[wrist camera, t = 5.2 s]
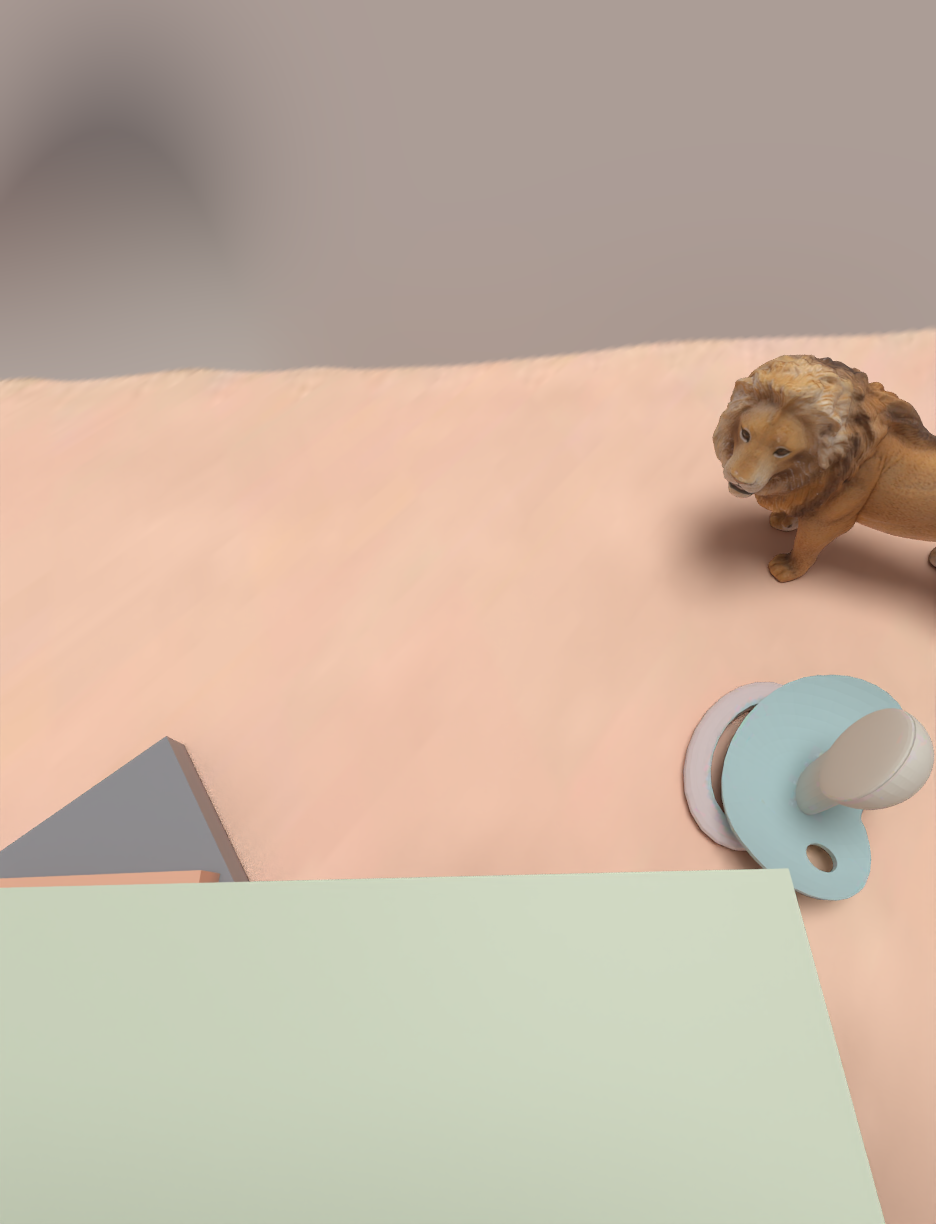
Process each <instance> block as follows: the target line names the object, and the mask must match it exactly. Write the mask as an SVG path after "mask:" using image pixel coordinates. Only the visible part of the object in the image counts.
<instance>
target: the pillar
mask: <svg viewBox="0 0 936 1224" xmlns="http://www.w3.org/2000/svg"><path fill="white" fill-rule="evenodd" d="M0 1224H885V1221H884V1217H883V1213H882V1210H881V1206H880V1202H879V1199H878V1195H877V1191H876V1188H875V1184H874V1180H873V1177H872V1173H871V1169H870V1165H869V1162H868V1158H867V1154H866V1151H865V1147H864V1143H863V1140H862V1136H861V1132H860V1129H859V1125H858V1121H857V1118H856V1114H855V1110H854V1107H853V1103H852V1099H851V1096H850V1092H849V1088H848V1085H847V1081H846V1077H845V1074H844V1070H843V1066H842V1063H841V1059H840V1055H839V1052H838V1048H837V1044H836V1041H835V1037H834V1033H833V1030H832V1026H831V1022H830V1019H829V1015H828V1011H827V1007H826V1004H825V1000H824V996H823V993H822V989H821V985H820V982H819V978H818V974H817V971H816V967H815V963H814V960H813V956H812V952H811V949H810V945H809V941H808V938H807V934H806V930H805V927H804V923H803V919H802V916H801V912H800V908H799V905H798V901H797V897H796V894H795V890H794V886H793V883H792V879H791V875H790V872H789V868H784V869H743V870H703V871H662V872H621V873H581V874H540V875H499V876H459V877H418V878H377V879H337V880H296V881H255V882H215V883H174V884H133V885H93V886H52V887H11V888H0Z"/></svg>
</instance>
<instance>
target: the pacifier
mask: <svg viewBox="0 0 936 1224" xmlns="http://www.w3.org/2000/svg"><path fill="white" fill-rule="evenodd" d="M750 710H752V711H751V712H750V713H749V714H748V715H747V716H746V717H745V719H744V720H743V722H742V723H741V725H740V726H739V728H738V730H737V731H736V733H735V735H734V737H733V739H732V741H731V743H730V746H729V748H728V751H727V754H726V757H725V761H724V766H723V771H722V777H721V791H722V801H723V806H724V810H725V814H724V813H723V811H722V810H721V808H720V806H719V805H718V803H717V802H716V800H715V797H714V793H713V790H712V786H711V763H712V757H713V753H714V750H715V747H716V745H717V742H718V740H719V737H720V736H721V734H722V733H723V731H724V730H725V728H726V727H727V726H728V725H729V724H730V723H731V722H732V721H733V720H734V719H735V718H737V717H738V716H740V715H742V714H743V713H745V712H746V711H750ZM933 763H934V750H933V745H932V741H931V739H930V737H929V735H928V733H927V731H926V729H925V728H924V727H923V725H922V724H921V723H920V722H919V721H918V720H917V719H916V718H914V717H913V716H912V715H910V714H909V713H907V712H905V711H903V710H902V708H901V707H900V705H899V704H898V702H897V701H895V700H894V699H893V698H892V697H891V696H890V695H889V694H888V693H887V692H886V691H884V690H882V689H881V688H879V687H878V686H876V685H874V684H871V683H869V682H867V681H864V680H862V679H858V678H854V677H850V676H840V675H824V676H822V675H817V676H810V677H803V678H801V679H798V680H795V681H793V682H790V683H787V684H785V685H781V684H777V683H774V682H755V683H751V684H748V685H744V686H741V687H738V688H736V689H734V690H733V691H731V692H729V693H728V694H726V695H724V696H723V697H721V698H720V699H719V700H718V701H717V702H716V703H715V704H714V705H713V706H712V707H711V708H710V709H709V710H708V711H707V712H706V713H705V715H704V716H703V718H702V719H701V721H700V722H699V724H698V725H697V727H696V728H695V731H694V733H693V736H692V738H691V741H690V743H689V746H688V748H687V754H686V759H685V765H684V791H685V795H686V799H687V802H688V806H689V809H690V812H691V814H692V816H693V817H694V819H695V821H696V822H697V824H698V825H699V827H700V829H701V830H702V831H703V832H704V833H705V834H707V835H708V836H709V837H710V838H711V839H712V840H714V841H715V842H716V843H718V844H720V845H723V846H725V847H728V848H730V849H733V850H743V851H747V852H748V853H749V854H750V856H751V857H752V858H753V859H754V860H755V861H756V862H757V863H758V864H759V865H760V866H761V867H762V868H763V869H784V868H789V872H790V875H791V879H792V883H793V886H794V890H795V891H797V892H799V893H801V894H803V895H805V896H809V897H812V898H815V899H819V900H841V899H847V898H850V897H852V896H853V895H855V894H857V893H858V892H859V891H861V890H862V888H863V887H864V886H865V884H866V881H867V879H868V876H869V873H870V865H871V853H870V845H869V841H868V837H867V833H866V830H865V827H864V825H863V823H862V821H861V814H862V811H863V810H875V809H883V808H887V807H891V806H894V805H897V804H899V803H902V802H904V801H906V800H907V799H909V798H910V797H912V796H913V795H914V794H916V793H917V792H918V791H919V790H920V789H921V788H922V786H923V785H924V784H925V783H926V781H927V779H928V778H929V776H930V773H931V771H932V767H933ZM809 845H817V846H819V847H821V848H823V849H824V850H825V851H826V852H827V853H828V854H829V855H830V857H831V858H832V861H833V868H832V871H830V872H823V871H821V870H819V869H817V868H816V867H814V866H813V865H812V864H811V863H810V861H809V859H808V858H807V855H806V849H807V847H808V846H809Z"/></svg>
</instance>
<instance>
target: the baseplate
mask: <svg viewBox="0 0 936 1224" xmlns="http://www.w3.org/2000/svg"><path fill="white" fill-rule="evenodd" d="M192 870H203V871H209V872H214V873H220V877H219V882H249V880H248V878H247V876H246V874H245V872H244V870H243V868H242V865H241V863H240V861H239V859H238V857H237V855H236V853H235V851H234V849H233V847H232V845H231V843H230V840H229V838H228V836H227V834H226V832H225V830H224V828H223V826H222V824H221V822H220V820H219V817H218V815H217V813H216V811H215V809H214V807H213V805H212V803H211V801H210V799H209V797H208V795H207V792H206V790H205V788H204V786H203V784H202V782H201V780H200V778H199V776H198V774H197V772H196V770H195V767H194V765H193V763H192V761H191V759H190V757H189V755H188V753H187V751H186V749H185V747H184V745H183V744H181V743H179V742H177V741H175V740H173V739H171V738H169V737H167V736H166V737H164V738H163V739H162V740H160V741H159V742H157V743H156V744H154V745H153V746H151V747H150V748H149V749H147V750H146V751H144V752H143V753H141V754H140V755H138V756H137V757H136V758H134V759H133V760H131V761H130V762H128V763H127V764H126V765H124V766H123V767H121V768H120V769H118V770H117V771H115V772H114V773H113V774H111V775H110V776H108V777H107V778H105V779H104V780H102V781H101V782H100V783H98V784H97V785H95V786H94V787H92V788H91V789H90V790H88V791H87V792H85V793H84V794H82V795H81V796H79V797H78V798H77V799H75V800H74V801H72V802H71V803H69V804H68V805H66V806H65V807H64V808H62V809H61V810H59V811H58V812H56V813H55V814H54V815H52V816H51V817H49V818H48V819H46V820H45V821H43V822H42V823H41V824H39V825H38V826H36V827H35V828H33V829H32V830H30V831H29V832H28V833H26V834H25V835H23V836H22V837H20V838H19V839H18V840H16V841H15V842H13V843H12V844H10V845H9V846H7V847H6V848H5V849H3V850H2V851H0V878H23V877H47V876H71V875H95V874H120V873H144V872H168V871H192Z"/></svg>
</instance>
